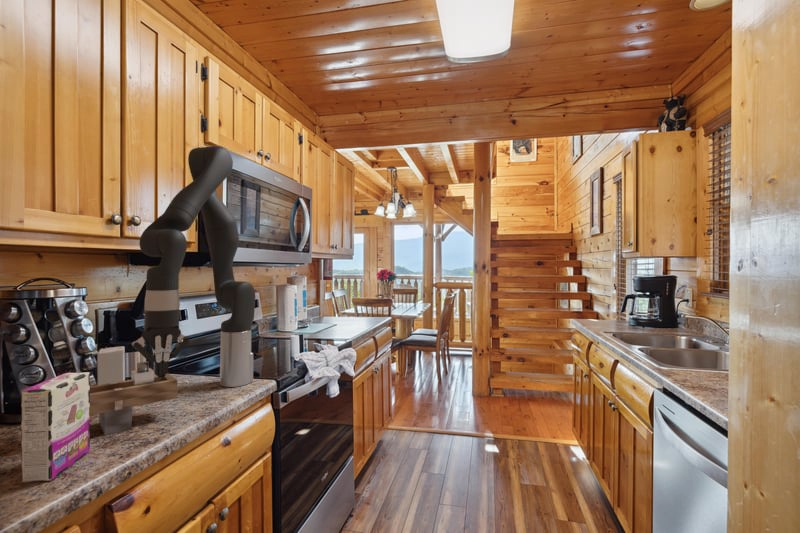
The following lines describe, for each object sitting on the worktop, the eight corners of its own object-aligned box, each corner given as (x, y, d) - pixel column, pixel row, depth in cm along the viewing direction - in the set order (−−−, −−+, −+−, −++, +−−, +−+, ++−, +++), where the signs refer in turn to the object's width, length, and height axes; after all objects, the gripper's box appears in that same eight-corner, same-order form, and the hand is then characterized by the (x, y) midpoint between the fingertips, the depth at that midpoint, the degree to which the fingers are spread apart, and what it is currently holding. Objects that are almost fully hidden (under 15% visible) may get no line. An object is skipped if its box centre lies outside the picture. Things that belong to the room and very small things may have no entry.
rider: (149, 387, 98) (150, 360, 98) (153, 391, 95) (154, 363, 95) (131, 391, 95) (131, 362, 95) (134, 395, 92) (134, 365, 92)
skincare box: (124, 404, 105) (125, 350, 105) (95, 409, 101) (97, 352, 101) (125, 396, 112) (126, 344, 112) (99, 399, 108) (100, 347, 108)
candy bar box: (62, 453, 78) (64, 372, 78) (90, 451, 78) (92, 371, 79) (17, 484, 67) (19, 389, 67) (50, 482, 67) (52, 388, 67)
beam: (167, 408, 103) (168, 372, 103) (177, 418, 96) (177, 380, 96) (45, 434, 86) (46, 392, 86) (47, 448, 79) (48, 402, 79)
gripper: (186, 305, 105) (185, 368, 105) (127, 308, 96) (126, 378, 95) (195, 307, 100) (194, 374, 99) (134, 310, 90) (132, 384, 90)
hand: (161, 376), depth 97 cm, fingers closed
